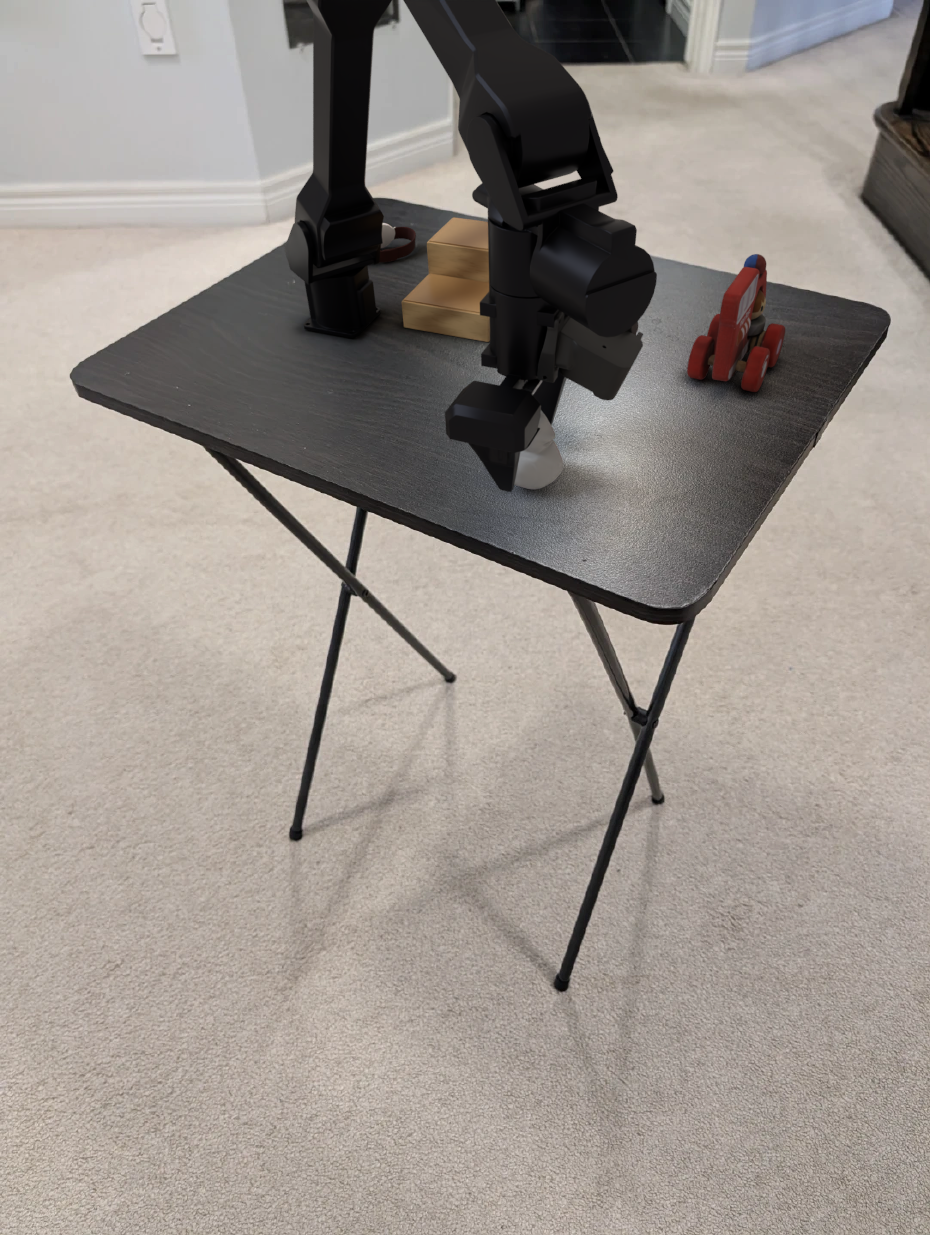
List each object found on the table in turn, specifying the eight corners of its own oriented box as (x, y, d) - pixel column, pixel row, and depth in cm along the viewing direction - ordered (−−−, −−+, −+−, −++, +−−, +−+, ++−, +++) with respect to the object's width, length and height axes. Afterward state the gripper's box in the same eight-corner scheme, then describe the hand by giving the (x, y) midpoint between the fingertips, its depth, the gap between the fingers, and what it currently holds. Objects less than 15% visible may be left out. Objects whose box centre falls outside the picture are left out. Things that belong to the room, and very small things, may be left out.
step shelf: (403, 327, 97) (397, 267, 92) (455, 273, 106) (452, 216, 101) (488, 342, 94) (487, 281, 89) (534, 285, 103) (535, 227, 98)
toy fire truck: (785, 348, 91) (809, 246, 83) (749, 408, 83) (772, 302, 76) (719, 334, 93) (737, 234, 86) (678, 391, 86) (693, 287, 78)
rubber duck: (545, 507, 74) (548, 425, 68) (477, 485, 76) (474, 404, 71) (574, 473, 77) (578, 392, 71) (507, 452, 80) (506, 372, 74)
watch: (408, 241, 112) (406, 212, 110) (423, 255, 109) (421, 225, 107) (351, 255, 110) (347, 225, 108) (365, 269, 107) (361, 239, 105)
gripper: (596, 361, 56) (582, 548, 67) (670, 243, 68) (647, 419, 79) (436, 333, 59) (448, 516, 70) (532, 225, 71) (529, 396, 82)
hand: (525, 458), depth 75 cm, fingers open, 9 cm apart
